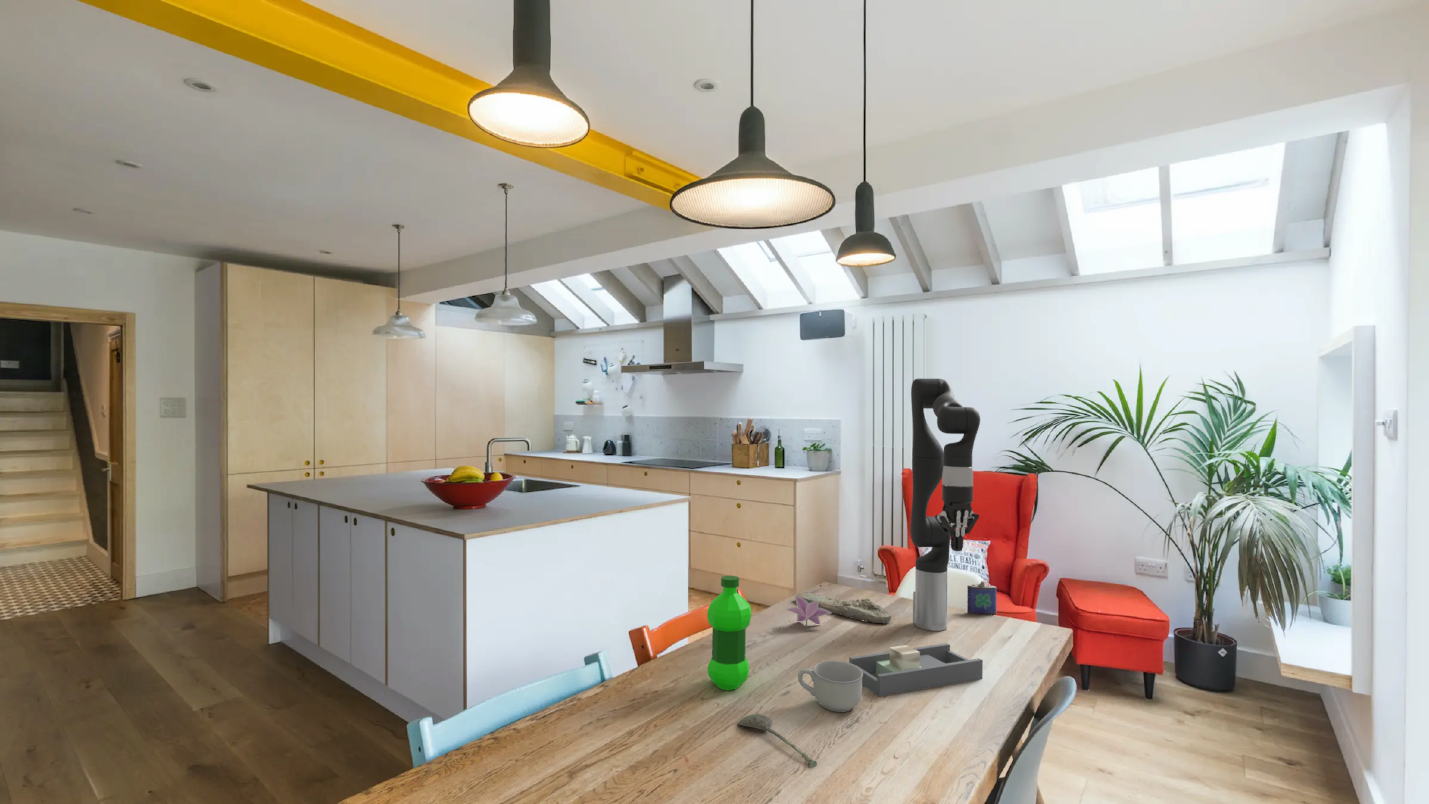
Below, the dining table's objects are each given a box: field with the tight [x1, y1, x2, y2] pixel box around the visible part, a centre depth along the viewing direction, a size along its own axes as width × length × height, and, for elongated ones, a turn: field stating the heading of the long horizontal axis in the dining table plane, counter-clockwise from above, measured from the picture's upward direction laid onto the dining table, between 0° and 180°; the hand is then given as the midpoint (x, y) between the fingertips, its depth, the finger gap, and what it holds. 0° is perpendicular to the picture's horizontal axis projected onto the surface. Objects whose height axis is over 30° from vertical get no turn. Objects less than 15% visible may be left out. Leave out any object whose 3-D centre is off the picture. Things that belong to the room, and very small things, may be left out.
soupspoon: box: [737, 713, 818, 769], centre depth 127 cm, size 22×3×7 cm
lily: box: [787, 594, 832, 631], centre depth 196 cm, size 12×12×10 cm
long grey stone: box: [796, 592, 892, 624], centre depth 213 cm, size 35×5×10 cm
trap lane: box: [848, 643, 984, 697], centre depth 160 cm, size 12×30×4 cm, turn 112°
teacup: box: [797, 659, 863, 713], centre depth 144 cm, size 14×11×8 cm
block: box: [889, 644, 920, 671], centre depth 159 cm, size 5×5×4 cm
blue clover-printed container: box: [966, 580, 998, 616], centre depth 213 cm, size 9×3×11 cm, turn 88°
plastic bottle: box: [706, 575, 752, 691], centre depth 153 cm, size 10×10×25 cm
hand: (956, 550), depth 170 cm, fingers closed
